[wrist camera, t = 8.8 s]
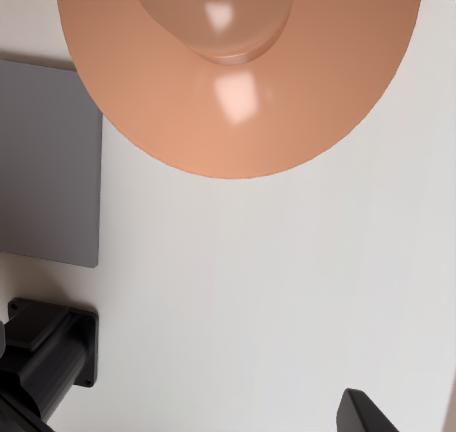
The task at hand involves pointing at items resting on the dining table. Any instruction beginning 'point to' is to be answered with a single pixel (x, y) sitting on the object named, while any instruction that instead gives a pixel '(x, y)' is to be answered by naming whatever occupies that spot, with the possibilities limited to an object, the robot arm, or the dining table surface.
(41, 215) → the mat
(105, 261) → the dining table surface
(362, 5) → the lid
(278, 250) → the dining table surface
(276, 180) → the dining table surface
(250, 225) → the dining table surface
